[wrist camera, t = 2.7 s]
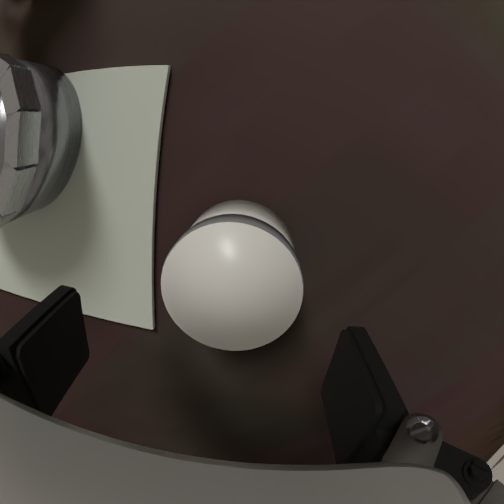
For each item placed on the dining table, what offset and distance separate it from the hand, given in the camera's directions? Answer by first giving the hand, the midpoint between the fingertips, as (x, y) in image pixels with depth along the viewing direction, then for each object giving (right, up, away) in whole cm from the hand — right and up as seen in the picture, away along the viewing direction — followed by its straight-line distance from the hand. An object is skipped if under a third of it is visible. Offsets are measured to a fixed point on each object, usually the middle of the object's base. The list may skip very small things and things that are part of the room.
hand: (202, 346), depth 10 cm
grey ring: (-13, +11, +5) cm, 18 cm away
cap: (+1, +3, +7) cm, 8 cm away
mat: (-13, +7, +6) cm, 16 cm away
